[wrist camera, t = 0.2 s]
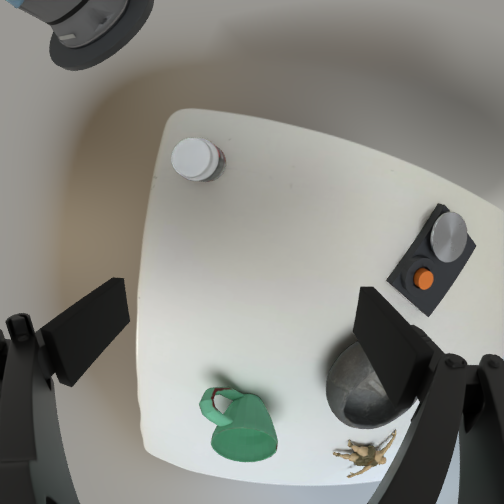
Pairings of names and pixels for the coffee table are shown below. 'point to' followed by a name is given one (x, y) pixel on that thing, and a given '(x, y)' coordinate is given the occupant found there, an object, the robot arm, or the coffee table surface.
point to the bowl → (358, 392)
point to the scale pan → (448, 237)
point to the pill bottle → (198, 160)
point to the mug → (240, 426)
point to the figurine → (366, 456)
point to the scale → (428, 268)
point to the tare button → (423, 278)
